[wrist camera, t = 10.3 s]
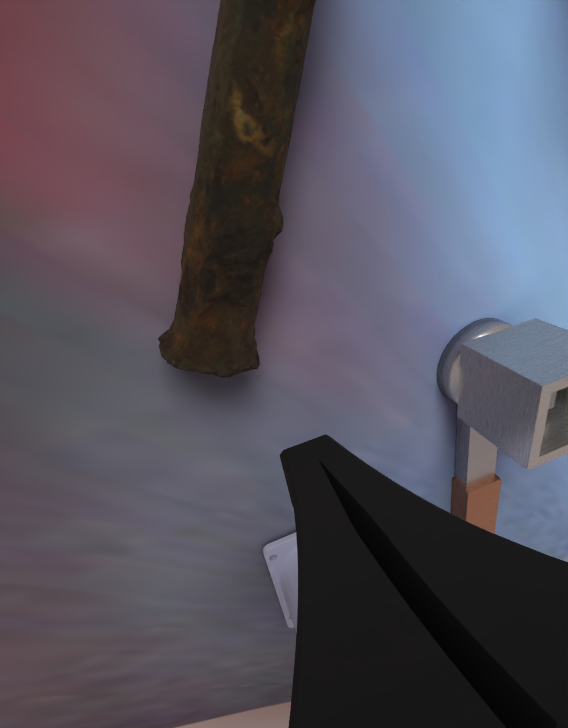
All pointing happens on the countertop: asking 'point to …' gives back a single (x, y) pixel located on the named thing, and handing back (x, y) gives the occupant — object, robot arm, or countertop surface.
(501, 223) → the countertop surface
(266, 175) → the hand tool
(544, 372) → the hollow square box
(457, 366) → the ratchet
